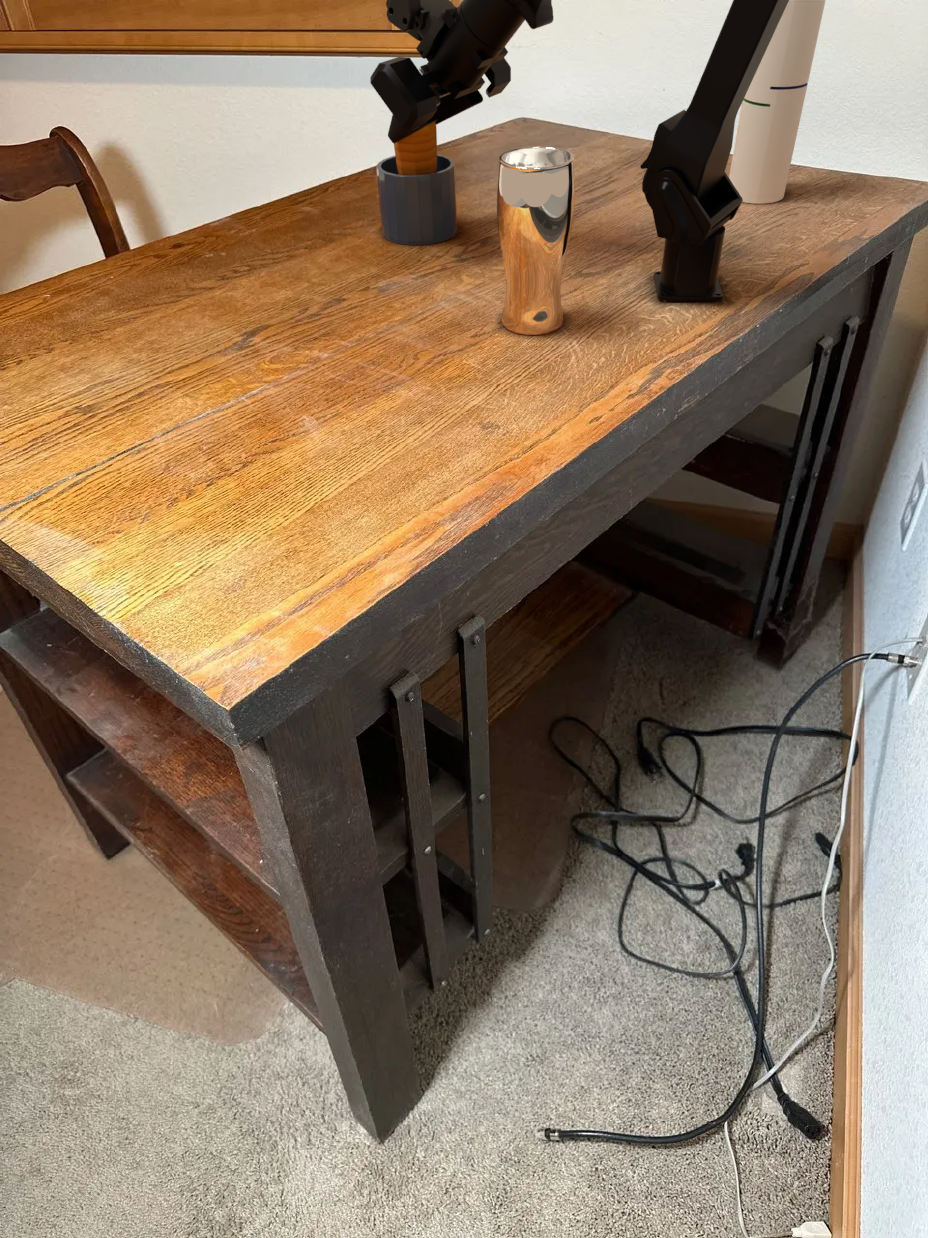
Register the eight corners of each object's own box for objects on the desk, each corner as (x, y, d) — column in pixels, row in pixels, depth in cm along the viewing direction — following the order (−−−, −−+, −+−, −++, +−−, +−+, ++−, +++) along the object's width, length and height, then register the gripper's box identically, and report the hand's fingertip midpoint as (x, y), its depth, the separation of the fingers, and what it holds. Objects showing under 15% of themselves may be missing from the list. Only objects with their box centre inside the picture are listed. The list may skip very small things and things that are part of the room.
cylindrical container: (785, 204, 109) (839, -46, 92) (726, 202, 110) (769, -46, 93) (782, 186, 114) (832, -55, 97) (726, 184, 115) (766, -54, 98)
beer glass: (567, 307, 88) (576, 144, 78) (567, 338, 83) (576, 168, 73) (499, 306, 89) (499, 145, 79) (494, 336, 84) (494, 168, 74)
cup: (453, 245, 102) (451, 176, 97) (377, 245, 102) (371, 176, 97) (459, 218, 108) (457, 152, 103) (388, 218, 109) (382, 152, 104)
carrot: (440, 227, 103) (432, 80, 92) (398, 228, 103) (386, 82, 93) (442, 213, 106) (434, 70, 96) (401, 214, 106) (389, 72, 96)
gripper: (486, -62, 91) (410, 54, 103) (375, -38, 80) (304, 88, 92) (549, 34, 93) (467, 136, 105) (449, 69, 82) (370, 179, 94)
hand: (405, 133), depth 99 cm, fingers closed on carrot, 5 cm apart
